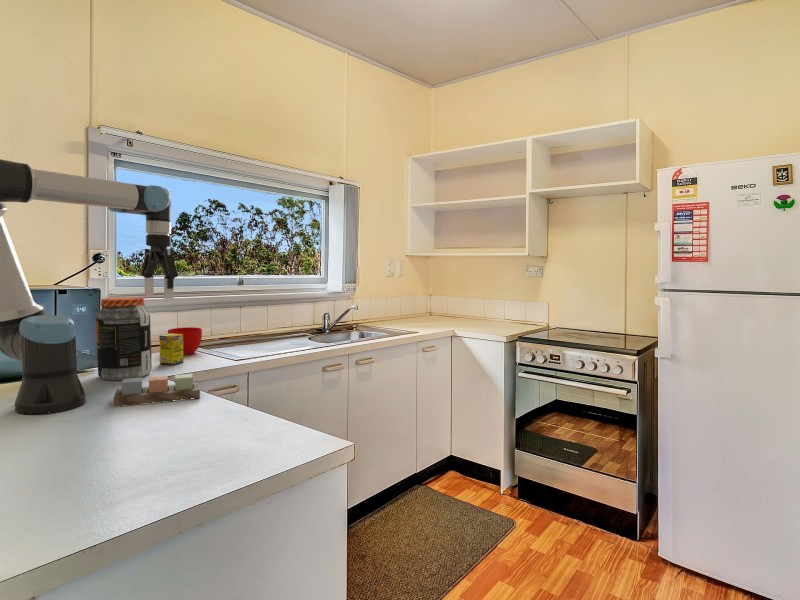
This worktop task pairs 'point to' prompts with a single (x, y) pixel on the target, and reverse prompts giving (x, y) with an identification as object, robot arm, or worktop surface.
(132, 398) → the wooden block tray
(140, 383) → the slate block
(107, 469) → the worktop surface
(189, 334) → the ceramic cup
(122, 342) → the supplement tub
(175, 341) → the supplement box
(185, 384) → the sage block
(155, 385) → the terracotta block
